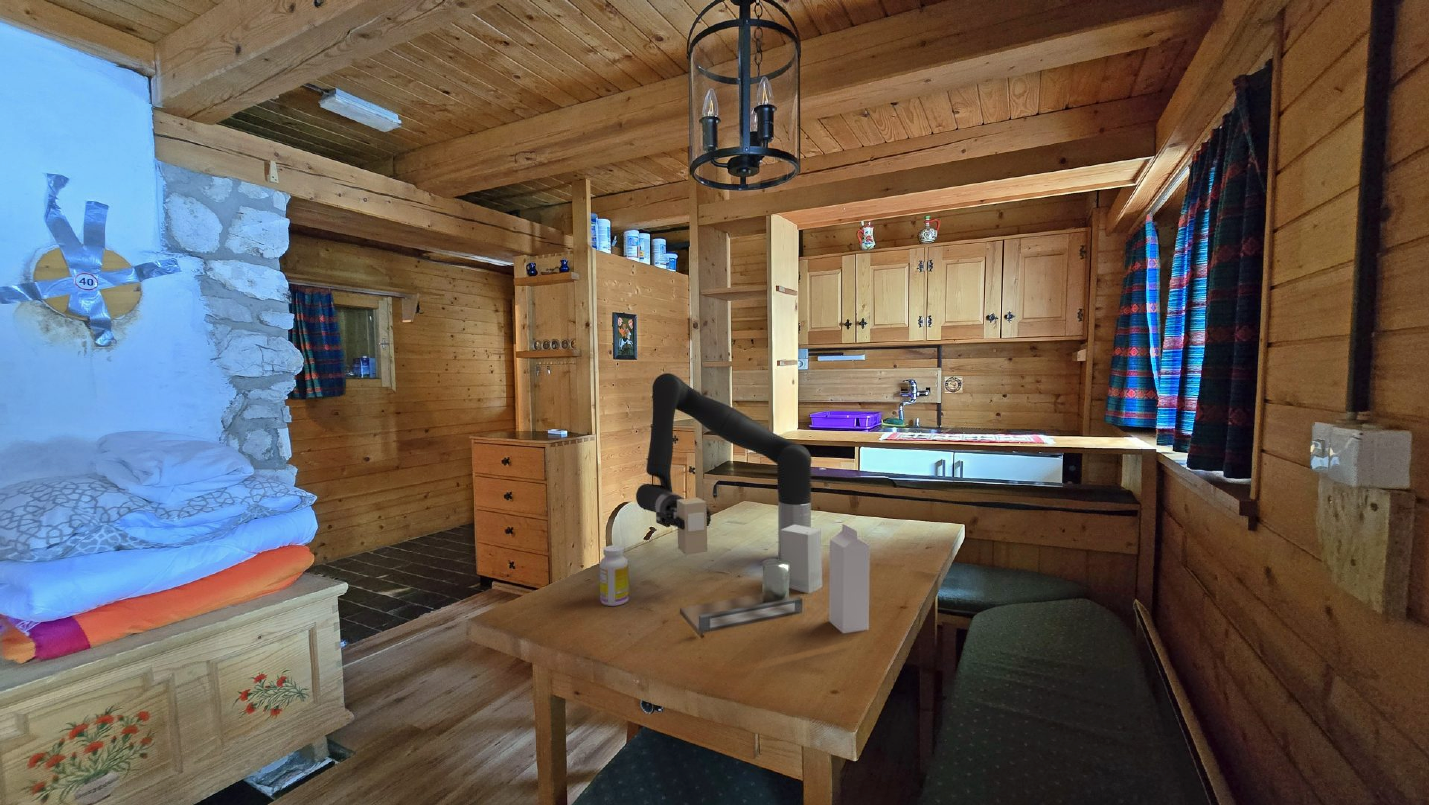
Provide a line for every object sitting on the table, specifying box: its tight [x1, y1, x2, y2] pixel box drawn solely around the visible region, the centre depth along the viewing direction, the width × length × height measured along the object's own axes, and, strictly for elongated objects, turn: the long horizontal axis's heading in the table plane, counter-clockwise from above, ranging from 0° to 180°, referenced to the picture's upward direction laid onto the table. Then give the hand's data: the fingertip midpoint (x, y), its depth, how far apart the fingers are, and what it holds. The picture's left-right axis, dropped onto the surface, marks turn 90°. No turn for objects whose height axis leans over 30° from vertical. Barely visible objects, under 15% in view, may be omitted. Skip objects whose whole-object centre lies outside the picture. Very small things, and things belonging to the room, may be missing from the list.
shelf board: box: [679, 593, 803, 639], centre depth 127 cm, size 24×13×4 cm, turn 113°
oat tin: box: [761, 558, 790, 604], centre depth 128 cm, size 6×6×10 cm
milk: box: [828, 523, 871, 634], centre depth 119 cm, size 6×6×22 cm
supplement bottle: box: [599, 544, 630, 607], centre depth 135 cm, size 7×7×13 cm
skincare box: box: [780, 524, 823, 594], centre depth 141 cm, size 8×7×16 cm
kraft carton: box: [677, 497, 708, 556], centre depth 137 cm, size 6×6×12 cm
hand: (695, 523), depth 135 cm, fingers closed on kraft carton, 5 cm apart
